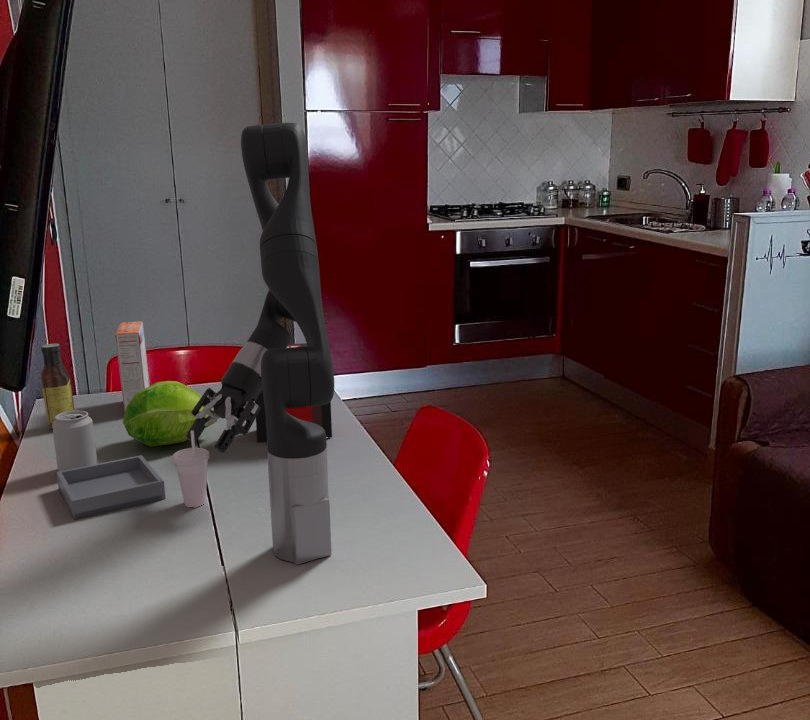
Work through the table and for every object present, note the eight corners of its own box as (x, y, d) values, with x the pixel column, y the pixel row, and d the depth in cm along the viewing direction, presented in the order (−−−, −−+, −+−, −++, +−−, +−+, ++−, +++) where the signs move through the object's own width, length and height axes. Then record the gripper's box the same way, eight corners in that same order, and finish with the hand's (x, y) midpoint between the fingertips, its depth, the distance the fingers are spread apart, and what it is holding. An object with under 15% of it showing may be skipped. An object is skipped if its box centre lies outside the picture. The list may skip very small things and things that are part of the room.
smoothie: (208, 510, 145) (202, 436, 141) (172, 510, 145) (165, 437, 141) (216, 496, 151) (211, 424, 147) (182, 496, 151) (176, 425, 147)
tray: (165, 498, 150) (163, 481, 149) (74, 519, 142) (72, 501, 141) (143, 471, 163) (141, 455, 162) (58, 488, 155) (56, 471, 154)
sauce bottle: (82, 425, 191) (72, 344, 187) (58, 433, 186) (48, 349, 181) (65, 421, 195) (55, 341, 190) (41, 428, 190) (30, 346, 185)
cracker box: (127, 400, 211) (119, 321, 206) (151, 398, 213) (144, 320, 207) (122, 416, 198) (113, 333, 193) (148, 414, 199) (140, 331, 194)
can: (84, 478, 160) (77, 421, 157) (50, 476, 161) (43, 419, 158) (105, 464, 167) (98, 409, 164) (72, 462, 168) (65, 407, 165)
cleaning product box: (329, 425, 190) (326, 342, 185) (332, 437, 181) (328, 351, 176) (258, 429, 187) (253, 345, 182) (257, 442, 179) (251, 355, 174)
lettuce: (220, 449, 175) (216, 389, 172) (122, 459, 170) (116, 397, 167) (217, 426, 189) (213, 371, 186) (127, 435, 184) (121, 378, 181)
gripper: (214, 355, 155) (168, 427, 149) (263, 366, 146) (215, 444, 140) (238, 375, 160) (194, 446, 154) (286, 388, 151) (241, 463, 145)
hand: (204, 445), depth 147 cm, fingers open, 8 cm apart
